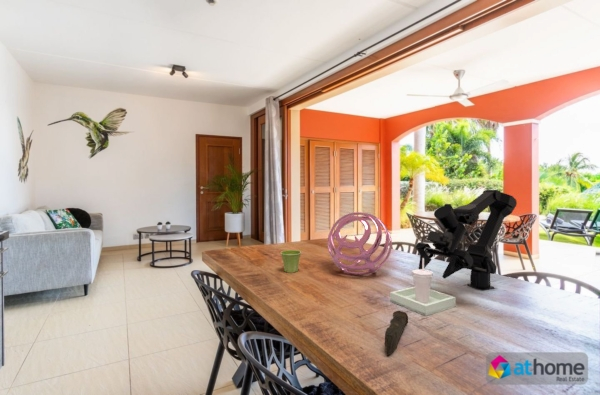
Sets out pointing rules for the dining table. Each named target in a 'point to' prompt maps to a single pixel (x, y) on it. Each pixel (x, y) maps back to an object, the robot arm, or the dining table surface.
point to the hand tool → (395, 331)
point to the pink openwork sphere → (358, 244)
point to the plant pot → (290, 260)
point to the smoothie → (422, 283)
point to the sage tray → (434, 305)
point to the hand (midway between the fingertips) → (431, 274)
